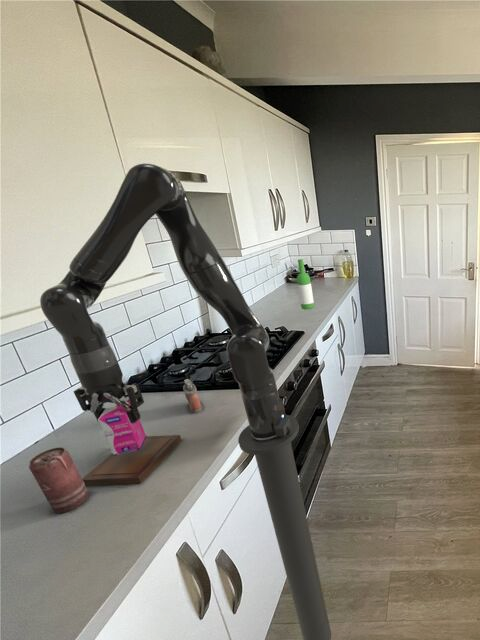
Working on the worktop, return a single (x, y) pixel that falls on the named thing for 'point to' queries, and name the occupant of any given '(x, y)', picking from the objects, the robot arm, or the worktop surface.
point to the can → (59, 479)
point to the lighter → (192, 396)
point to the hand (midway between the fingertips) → (120, 421)
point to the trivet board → (132, 463)
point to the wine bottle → (304, 287)
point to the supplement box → (121, 430)
